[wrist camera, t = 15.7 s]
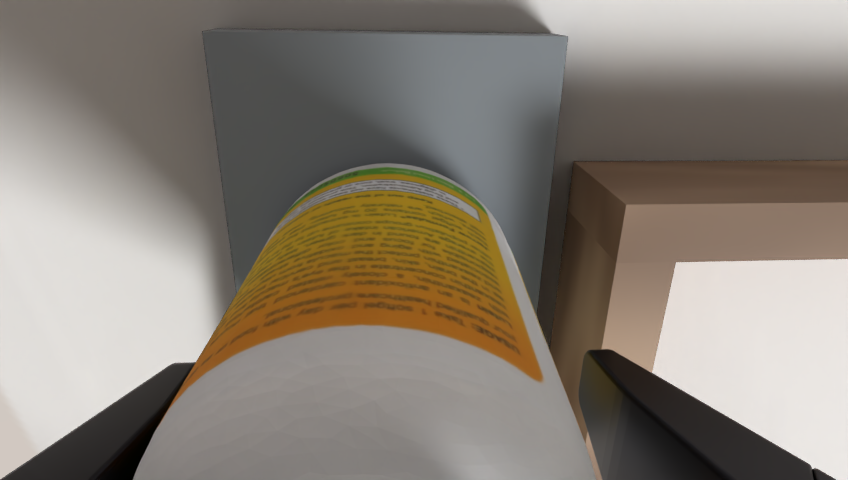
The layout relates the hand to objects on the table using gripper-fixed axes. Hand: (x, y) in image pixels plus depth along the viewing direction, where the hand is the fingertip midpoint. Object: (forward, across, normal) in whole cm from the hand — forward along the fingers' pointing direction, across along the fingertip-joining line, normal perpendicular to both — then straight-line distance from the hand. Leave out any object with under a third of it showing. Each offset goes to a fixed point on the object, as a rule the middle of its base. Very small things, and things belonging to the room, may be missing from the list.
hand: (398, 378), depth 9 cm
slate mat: (+5, 0, 0) cm, 5 cm away
